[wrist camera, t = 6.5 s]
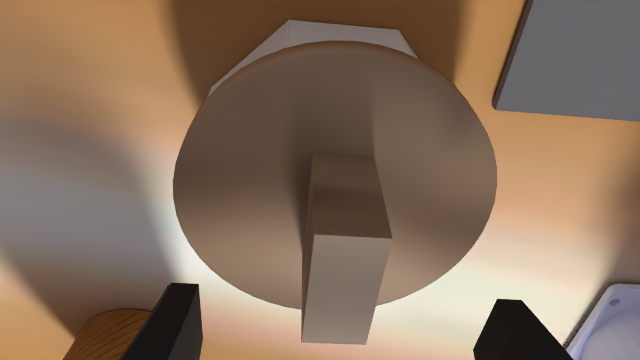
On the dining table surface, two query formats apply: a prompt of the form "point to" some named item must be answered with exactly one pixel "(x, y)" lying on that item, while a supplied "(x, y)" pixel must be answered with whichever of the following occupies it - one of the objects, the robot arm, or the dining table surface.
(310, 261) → the lid
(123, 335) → the disposable coffee cup
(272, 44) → the bowl
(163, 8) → the dining table surface
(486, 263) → the dining table surface
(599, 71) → the mat
